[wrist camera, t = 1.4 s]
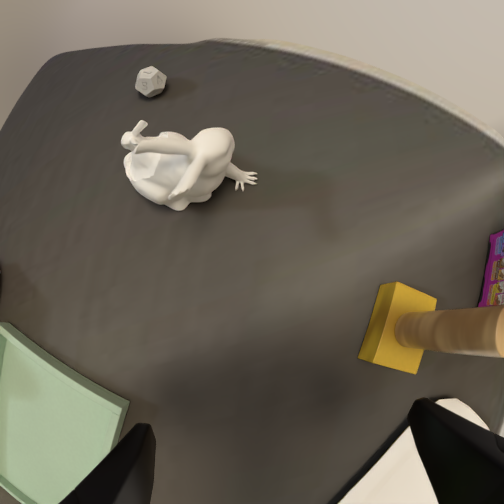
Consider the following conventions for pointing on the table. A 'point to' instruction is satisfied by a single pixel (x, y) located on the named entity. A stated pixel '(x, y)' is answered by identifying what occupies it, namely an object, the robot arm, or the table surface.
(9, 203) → the table surface
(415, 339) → the sponge wand
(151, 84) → the game die
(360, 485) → the plate
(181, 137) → the white figurine
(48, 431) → the tray
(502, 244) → the candy bar box
